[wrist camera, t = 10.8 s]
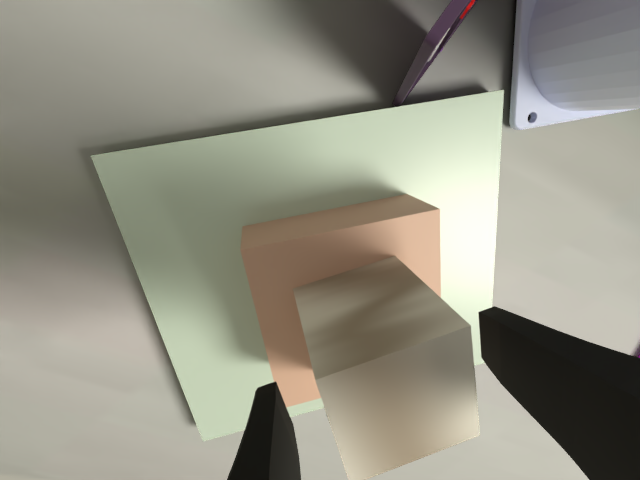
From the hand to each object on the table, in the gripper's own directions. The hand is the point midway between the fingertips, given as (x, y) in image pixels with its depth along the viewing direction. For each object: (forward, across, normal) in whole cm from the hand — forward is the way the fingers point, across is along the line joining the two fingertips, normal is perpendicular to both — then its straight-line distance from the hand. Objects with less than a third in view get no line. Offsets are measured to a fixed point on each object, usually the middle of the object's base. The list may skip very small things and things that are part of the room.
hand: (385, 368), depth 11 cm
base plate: (+7, 0, 0) cm, 7 cm away
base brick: (+6, 0, 0) cm, 6 cm away
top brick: (+3, 0, 0) cm, 3 cm away
